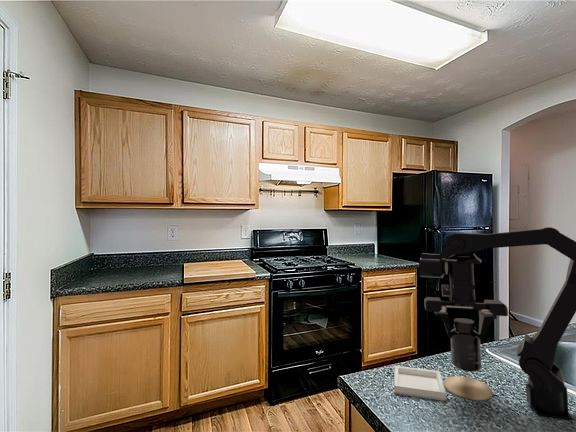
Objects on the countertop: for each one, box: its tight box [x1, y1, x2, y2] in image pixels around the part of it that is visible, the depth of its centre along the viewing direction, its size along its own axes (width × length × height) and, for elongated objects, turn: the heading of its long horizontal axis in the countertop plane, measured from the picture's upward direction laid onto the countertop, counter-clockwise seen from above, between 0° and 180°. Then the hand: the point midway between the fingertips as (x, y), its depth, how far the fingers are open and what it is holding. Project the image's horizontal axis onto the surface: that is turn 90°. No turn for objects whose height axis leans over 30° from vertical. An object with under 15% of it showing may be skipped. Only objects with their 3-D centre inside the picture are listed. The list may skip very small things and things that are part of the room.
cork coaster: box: [443, 375, 493, 401], centre depth 80 cm, size 11×11×1 cm
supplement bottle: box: [450, 317, 482, 373], centre depth 81 cm, size 7×7×12 cm
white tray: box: [393, 365, 447, 402], centre depth 82 cm, size 12×12×2 cm
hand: (465, 338), depth 81 cm, fingers closed on supplement bottle, 7 cm apart
